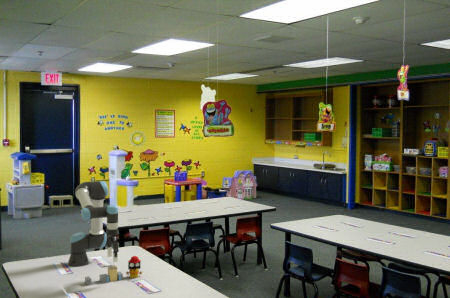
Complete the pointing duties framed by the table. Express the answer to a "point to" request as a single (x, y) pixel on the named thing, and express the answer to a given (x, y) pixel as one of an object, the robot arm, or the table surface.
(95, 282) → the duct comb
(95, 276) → the table surface
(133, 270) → the toy
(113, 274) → the tan yellow block
